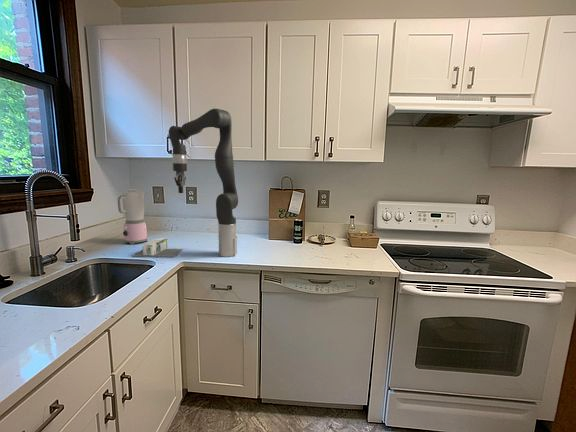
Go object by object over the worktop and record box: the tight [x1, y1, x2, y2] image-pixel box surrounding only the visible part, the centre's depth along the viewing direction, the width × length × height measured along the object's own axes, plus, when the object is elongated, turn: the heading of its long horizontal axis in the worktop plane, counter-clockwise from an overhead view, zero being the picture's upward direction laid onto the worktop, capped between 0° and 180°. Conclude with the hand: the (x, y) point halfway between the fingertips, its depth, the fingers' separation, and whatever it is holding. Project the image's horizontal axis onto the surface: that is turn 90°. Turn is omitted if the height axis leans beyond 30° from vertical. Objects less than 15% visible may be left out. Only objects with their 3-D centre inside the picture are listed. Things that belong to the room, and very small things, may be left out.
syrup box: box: [142, 237, 169, 256], centre depth 155 cm, size 6×6×14 cm
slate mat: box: [131, 248, 183, 259], centre depth 154 cm, size 21×14×1 cm, turn 91°
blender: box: [117, 188, 148, 246], centre depth 171 cm, size 16×12×32 cm
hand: (180, 192), depth 167 cm, fingers closed
